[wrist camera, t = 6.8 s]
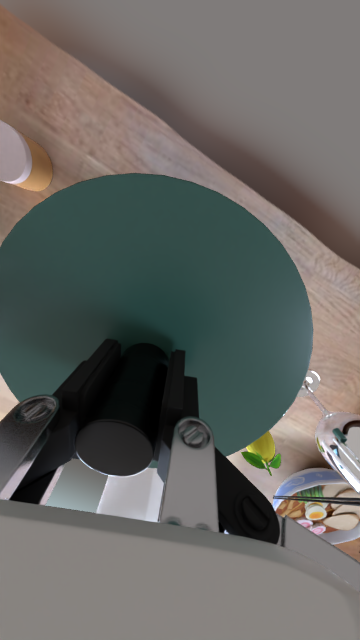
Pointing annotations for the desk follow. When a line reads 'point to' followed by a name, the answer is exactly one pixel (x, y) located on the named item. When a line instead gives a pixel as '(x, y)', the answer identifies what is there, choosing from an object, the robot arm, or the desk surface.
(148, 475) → the can
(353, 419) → the wineglass
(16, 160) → the cake
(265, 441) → the lemon
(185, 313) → the lid
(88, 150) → the desk surface
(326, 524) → the ramen bowl
